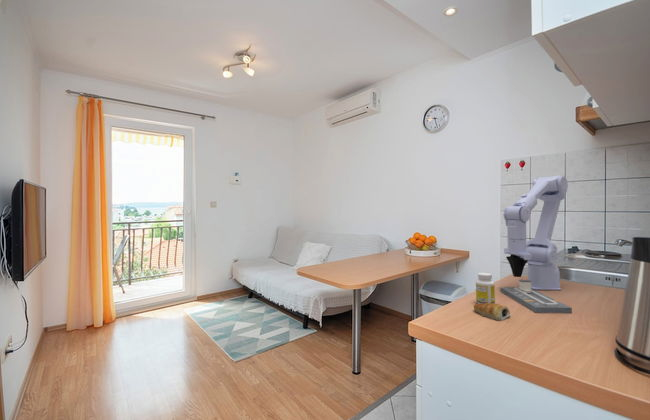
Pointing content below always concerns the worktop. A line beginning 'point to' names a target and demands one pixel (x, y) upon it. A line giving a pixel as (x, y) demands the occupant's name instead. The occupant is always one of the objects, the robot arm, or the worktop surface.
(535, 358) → the worktop surface
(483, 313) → the pastry
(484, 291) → the supplement bottle
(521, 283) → the fader tab
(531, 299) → the console
